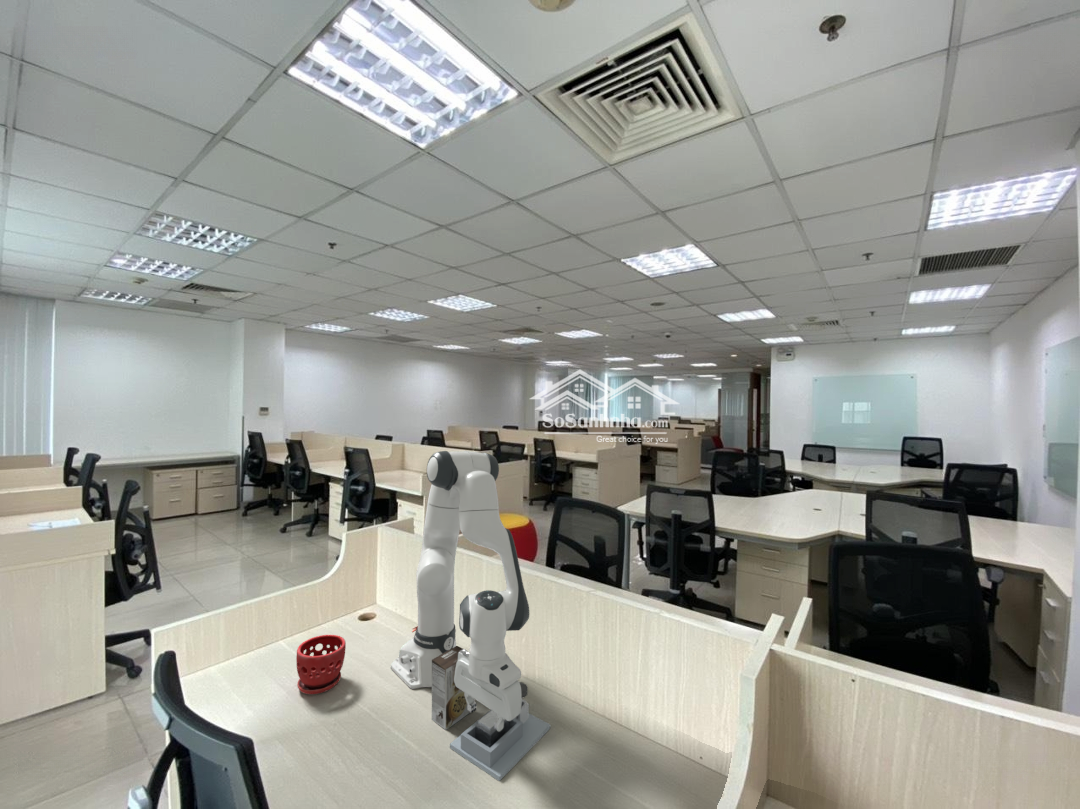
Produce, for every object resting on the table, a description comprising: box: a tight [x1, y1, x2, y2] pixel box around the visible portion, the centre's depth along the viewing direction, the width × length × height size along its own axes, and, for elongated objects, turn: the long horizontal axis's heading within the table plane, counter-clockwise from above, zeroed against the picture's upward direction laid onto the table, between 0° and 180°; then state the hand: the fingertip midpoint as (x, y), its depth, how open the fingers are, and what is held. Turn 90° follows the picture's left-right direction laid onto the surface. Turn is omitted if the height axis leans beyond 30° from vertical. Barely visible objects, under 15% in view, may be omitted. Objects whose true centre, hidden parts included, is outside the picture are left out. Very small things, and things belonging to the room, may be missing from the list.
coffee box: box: [431, 645, 471, 730], centre depth 119 cm, size 9×6×16 cm
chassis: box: [449, 698, 551, 782], centre depth 111 cm, size 16×20×5 cm
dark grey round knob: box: [519, 681, 529, 707], centre depth 116 cm, size 5×5×5 cm
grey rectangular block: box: [475, 710, 510, 748], centre depth 108 cm, size 5×7×6 cm
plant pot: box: [295, 634, 347, 695], centre depth 132 cm, size 13×13×12 cm
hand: (484, 719), depth 107 cm, fingers open, 8 cm apart
